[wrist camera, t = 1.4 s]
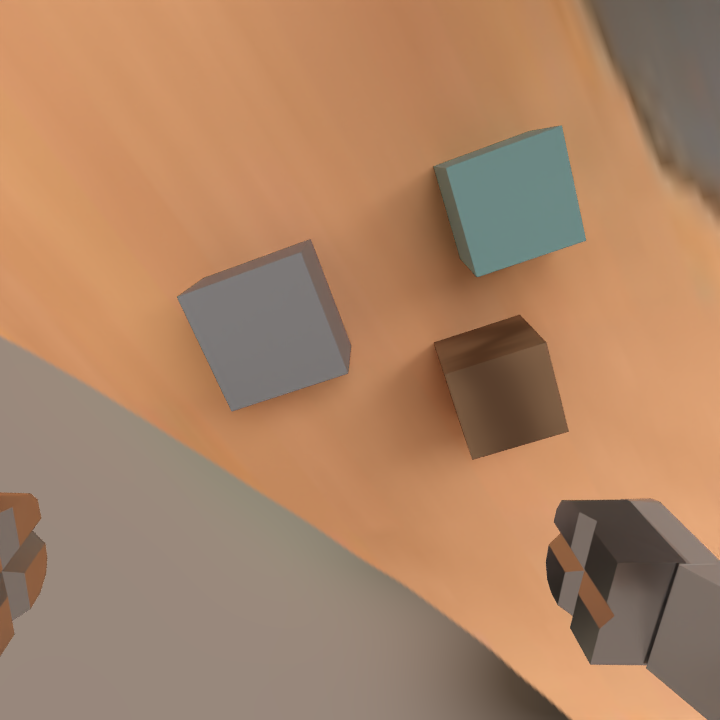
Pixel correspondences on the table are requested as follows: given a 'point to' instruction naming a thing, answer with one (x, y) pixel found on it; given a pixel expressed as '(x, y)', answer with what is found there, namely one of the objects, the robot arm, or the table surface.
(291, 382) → the grey base block
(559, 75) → the table surface
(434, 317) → the table surface
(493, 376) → the walnut cube
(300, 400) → the table surface
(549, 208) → the teal cube
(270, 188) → the table surface
